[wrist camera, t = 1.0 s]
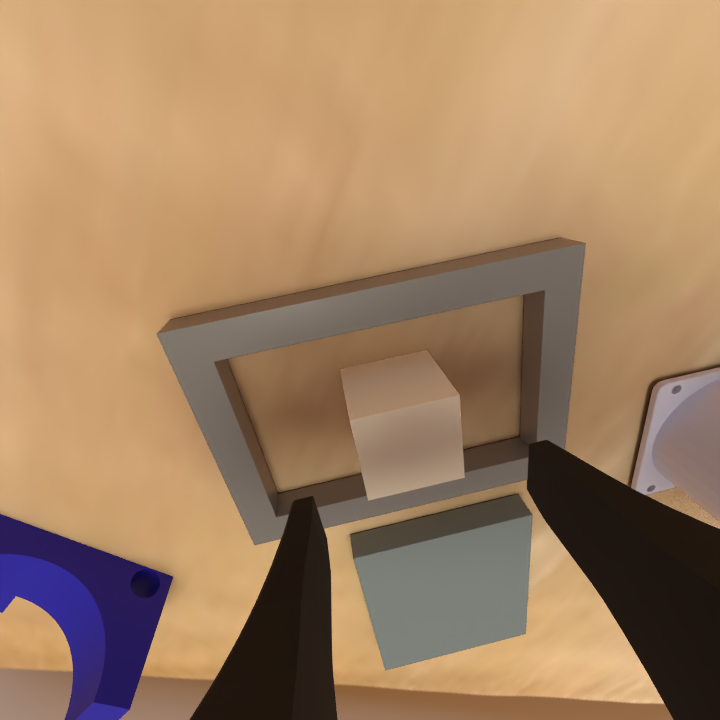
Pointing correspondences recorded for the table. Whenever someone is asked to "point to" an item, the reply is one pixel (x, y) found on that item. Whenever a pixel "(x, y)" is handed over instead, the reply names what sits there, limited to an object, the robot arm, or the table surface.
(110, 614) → the cable clip
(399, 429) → the cream block
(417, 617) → the slate pad
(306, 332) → the pocket frame
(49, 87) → the table surface
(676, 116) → the table surface
